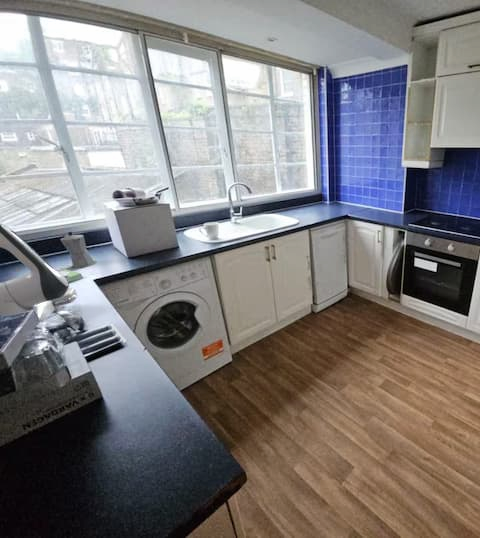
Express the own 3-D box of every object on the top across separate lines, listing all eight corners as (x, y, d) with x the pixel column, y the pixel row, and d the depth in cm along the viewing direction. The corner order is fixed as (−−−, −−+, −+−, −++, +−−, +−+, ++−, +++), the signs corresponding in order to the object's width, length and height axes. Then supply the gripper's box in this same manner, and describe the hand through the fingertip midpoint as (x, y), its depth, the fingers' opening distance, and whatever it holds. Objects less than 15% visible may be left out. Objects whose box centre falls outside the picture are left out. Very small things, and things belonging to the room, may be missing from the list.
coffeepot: (101, 262, 157) (87, 230, 150) (80, 269, 150) (65, 235, 142) (85, 259, 163) (71, 228, 156) (64, 265, 155) (48, 233, 148)
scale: (44, 290, 128) (41, 284, 127) (29, 285, 133) (26, 279, 132) (82, 277, 139) (80, 272, 138) (67, 273, 145) (64, 268, 144)
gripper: (72, 291, 104) (74, 279, 114) (-15, 312, 93) (-4, 296, 102) (79, 306, 107) (81, 293, 117) (-4, 328, 95) (6, 312, 105)
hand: (41, 295), depth 109 cm, fingers closed on can, 7 cm apart
